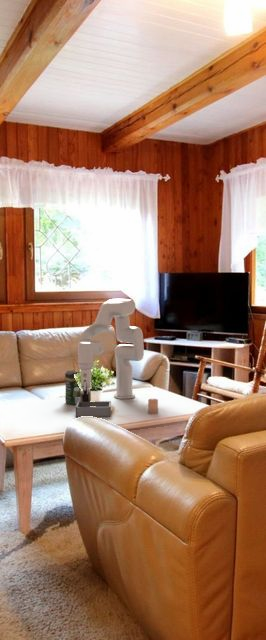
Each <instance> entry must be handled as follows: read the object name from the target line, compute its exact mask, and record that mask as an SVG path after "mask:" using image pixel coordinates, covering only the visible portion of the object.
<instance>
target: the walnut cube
mask: <svg viewBox="0 0 266 640" xmlns="http://www.w3.org/2000/svg"><path fill="white" fill-rule="evenodd" d="M82 394H83V390H81V393H80V402H82ZM88 394H89V401H88V402H90V401H92V392H91V390H89V391H88Z"/></svg>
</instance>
